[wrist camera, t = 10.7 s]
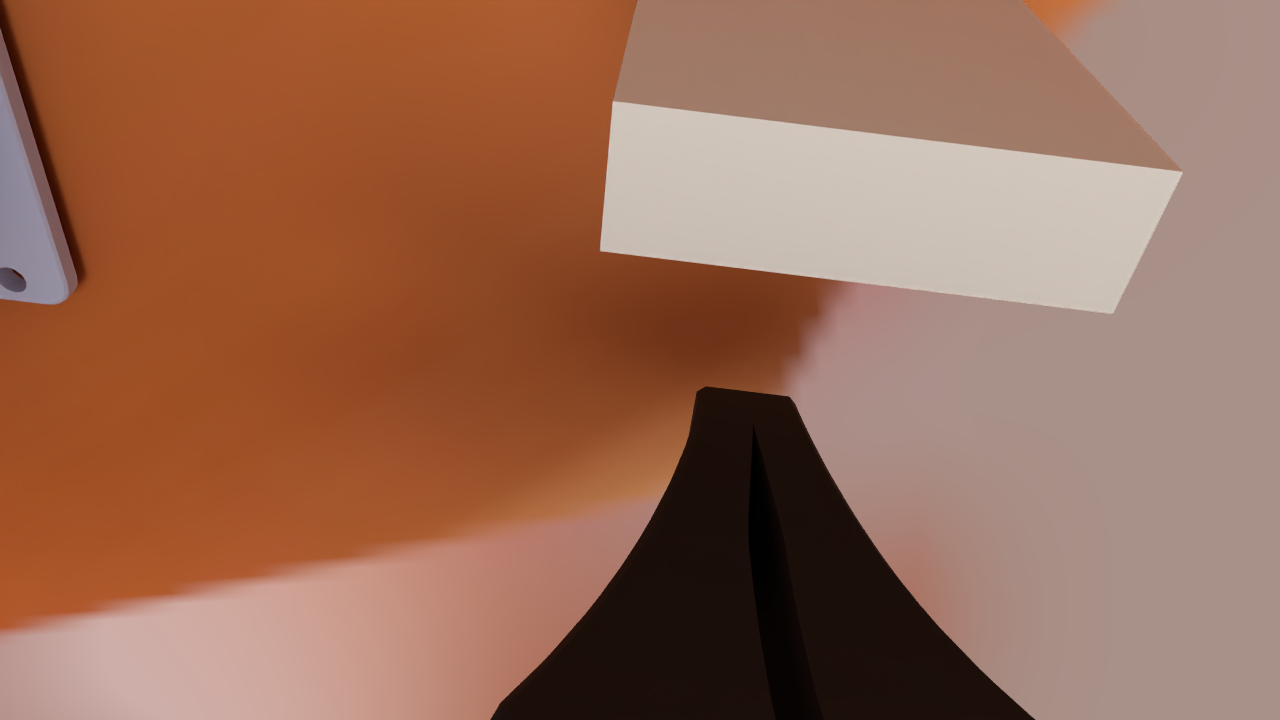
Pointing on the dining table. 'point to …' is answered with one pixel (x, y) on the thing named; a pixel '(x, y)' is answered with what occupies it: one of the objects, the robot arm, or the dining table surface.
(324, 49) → the dining table surface
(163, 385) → the dining table surface
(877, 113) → the domino
